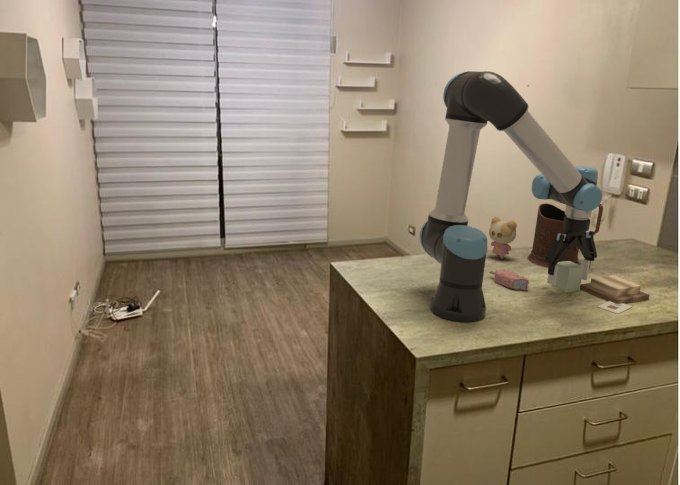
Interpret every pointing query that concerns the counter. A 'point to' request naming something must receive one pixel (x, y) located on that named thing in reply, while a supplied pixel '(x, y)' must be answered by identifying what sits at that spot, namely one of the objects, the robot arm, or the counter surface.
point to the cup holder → (553, 234)
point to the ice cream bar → (510, 279)
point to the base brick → (615, 289)
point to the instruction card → (614, 307)
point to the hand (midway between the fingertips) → (567, 281)
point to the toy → (502, 236)
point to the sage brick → (568, 276)
